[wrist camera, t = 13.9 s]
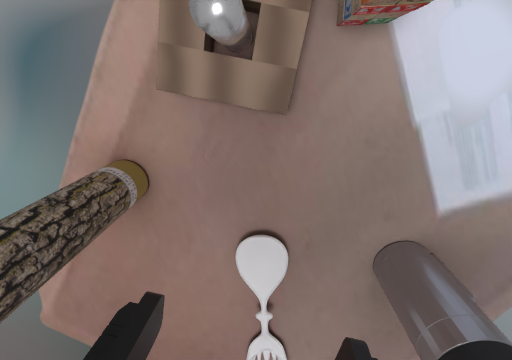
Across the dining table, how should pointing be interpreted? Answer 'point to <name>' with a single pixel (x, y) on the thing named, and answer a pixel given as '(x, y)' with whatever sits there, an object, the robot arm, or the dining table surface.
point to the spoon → (263, 286)
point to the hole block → (228, 67)
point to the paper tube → (62, 228)
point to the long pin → (223, 22)
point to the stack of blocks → (375, 10)
